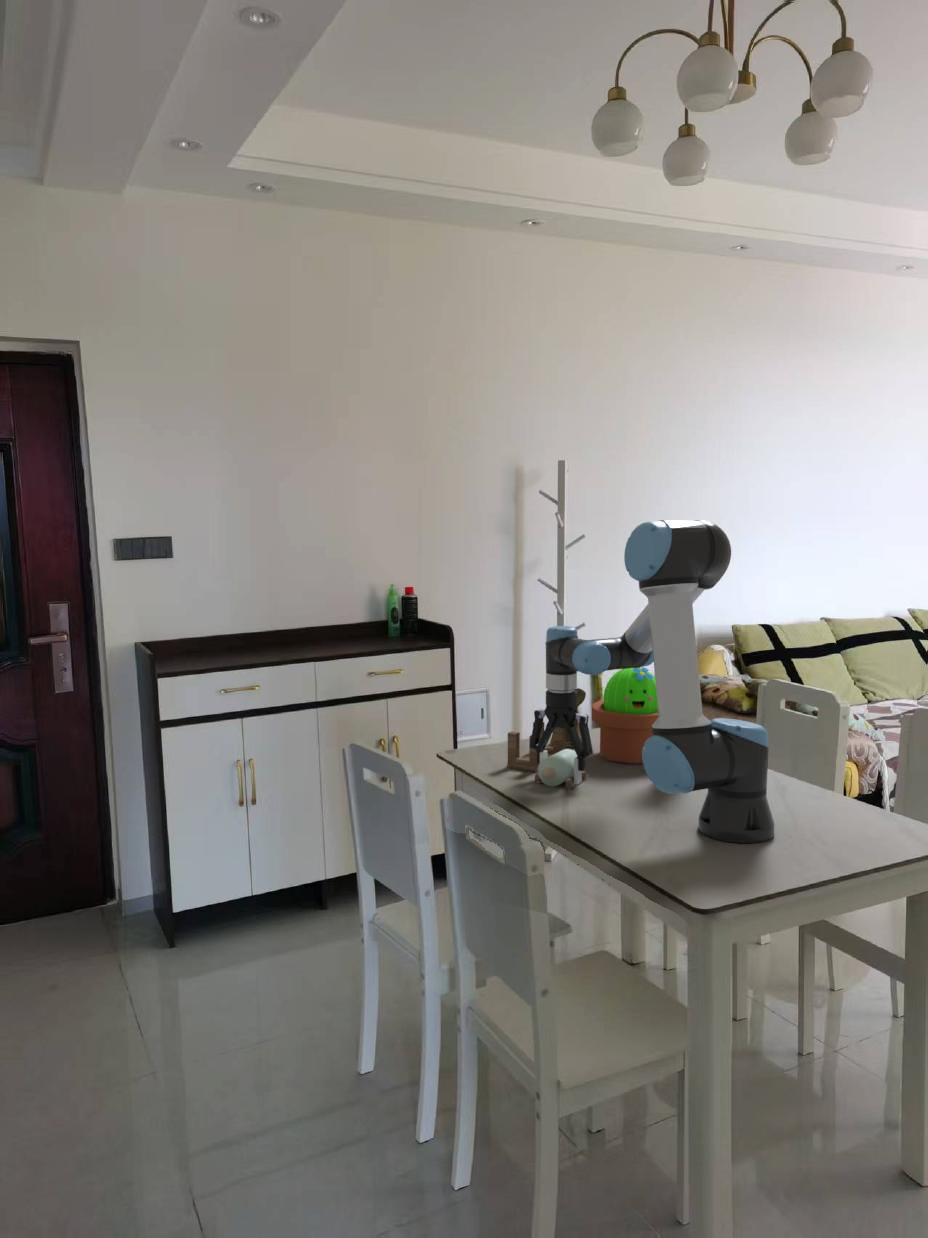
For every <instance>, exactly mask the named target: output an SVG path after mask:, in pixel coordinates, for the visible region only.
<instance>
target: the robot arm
mask: <svg viewBox="0 0 928 1238" xmlns="http://www.w3.org/2000/svg"><path fill="white" fill-rule="evenodd" d="M623 558H624V560H623V561H624V566H625V570H626V571H627V572H628V575H629V577H630V578H632V579H633V580H635V581H638V589H639V592H640V593H642V594H643V595H644V596H645V597H646V598H647V602H648V603H647V605H646V606H645V607H644V608H643V610H642V611H641V612H640V613H639V615H638V616H637V617H636V618H635V619H634V621H633V622H632V624H631V625H630V626H628V628H627V629H626V630H625V632H624V633H623V634H622V636H618V637H608V638H595V639H582V638H579V635H578V630H577V628H576V627H574V626H570V625H569V626H567V625H555V626H554V625H553V626H551V627H548V628H547V630H546V637H545V640H546V641H545V643H544V644H545V689H547V690H546V691H545V706H546V707H545V709H542V708H538V709H536V710H533V715H534V716H533V717H534V721H533V722H534V726H533V725H532V732H531V735H532V736H531V735H530V736H531V741H530V748H533V749H535V750H536V751H537V764H540V762H541V761H542V760H543V759H545V758H547V757H548V751H547V750H544V749H546V748H545V747H546V746H548V742H550V741H549V740H550V739H551V737H552V733H553V730H554V728H555V727H556V728H557V727H560V728H563V729H565V730H566V732H567V733H568V735H569V737H570V740H571V742H572V745H573V747H574V748H573V750H574V751H575V752H576V754H577V757H575V758H574V777H573V785H579V784H581V783H582V771H585V769H586V758H587V757H589V756H591V755H593V754H594V751H593V746H592V740H591V735H590V727H589V719H590V717H589V714H580V713H579V714H578V712H577V710H576V705H577V692H576V691H575V689H577V688H578V672H579V673H581V674H585V675H588V676H589V675H591V676H598V675H602V674H603V673H604V672H605V671H607V672H608V671H613V670H615V671H616V670H621V669H627V668H642V667H648V666H651V665H652V664H653V667H654V676H655V681H656V692H657V703H658V714H659V717H658V719H657V720H656V721H655V722H654V724H653V725H652V734H653V736H652V737H650V738H649V739H647V740H646V742H645V743H644V747H643V749H642V760H643V767H644V771H645V773H646V775H647V777H648V779H649V780H650V782H652V783H653V785H654V787H655V788H656V789H658V790H659V791H661V792H663V793H665V794H668V795H669V794H671V795H676V794H690V793H692V792H695V791H700V790H701V791H702V790H707V793H706V796H705V800H704V802H703V804H702V807H701V810H700V812H699V815H698V825H697V826H698V830H699V831H700V833H702V834H703V835H705V836H707V837H709V838H712V839H716V840H719V841H722V842H728V843H738V844H755V843H762V842H765V841H769V840H771V839H772V838H774V837H775V821H774V817H773V815H772V811H771V809H770V807H771V806H770V805H769V801H768V797H767V795H768V793H767V787H768V769H769V768H768V765H769V750H770V745H769V733H768V730H767V729H766V728H765V727H764V726H762V724H761V725H760V724H758V723H755V722H750V721H748V720H747V721H746V720H741V719H734V718H723V717H717V718H712V719H709V718H708V717H706V716H705V715H704V714H703V703H702V693H701V683H700V673H699V663H698V651H697V640H696V639H697V637H696V628H695V627H696V626H695V620H694V619H695V618H694V616H695V615H694V607H693V604H694V603H695V602H696V601H697V599H698V598H699V597H701V595H702V593H704V591H705V590H706V591H707V590H708V591H709V590H711V589H713V588H714V587H715V586H716V585H717V584H718V582H720V580H722V577H724V575H725V573H726V572H727V570H728V568H729V566H730V563H731V560H732V559H731V558H732V546H731V542H730V540H729V537H728V536H727V534H726V532H725V531H724V530H723V529H722V528H721V527H719V525H717V524H715V523H713V522H711V521H708V520H703V519H700V520H699V519H695V520H677V519H675V520H674V519H673V520H671V519H670V520H667V519H665V520H664V519H662V520H652V521H646V522H643V523H640V524H639V525H637V526H636V527H635V528H634V529H632V531H631V533H630V536H628V538H627V541H626V543H625V548H624V557H623ZM545 716H546V718H547V720H548V721H547V723H546V725H545V728H544V733H543V735H542V737H541V739H540V734H541V729H542V725H543V722H544V718H545ZM575 719H577V720H578V723H579V729H580V735H581V740H582V742H581V740H580V738H579V735H578V733H577V730H576V725H575V723H574V721H575ZM539 739H540V741H539ZM768 839H769V840H768Z"/></svg>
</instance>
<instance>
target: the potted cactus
mask: <svg viewBox="0 0 928 1238" xmlns="http://www.w3.org/2000/svg"><path fill="white" fill-rule="evenodd" d="M649 670H650V669H648V668H646V667H645V666H643V667H640V668H627V669H619V670H617V671H616V673H615V672H614V673H613V674H612V676H611V677H610V678H609V680H608V681H606V683H607V684H606V686H605V687H604V688H603V690H602V691H604V693H603V695H601V697H602V698H601V700H598V701H596V702H593V703H592V705H591V720H592V722H594V723H595V724H598V725H599V726H600V727H599V731H600V732H599V753H600V755H601V757H603V758H604V759H606V760H608V761H610V762H615V763H620V764H629V765H630V764H632V765H633V764H635V765H636V764H637V765H638V764H643V760H642V749H643V747H644V743H645V742H646V740H647V739H649V738H650V737H652V736H653V734H652V725H653V724H654V722H655V721H656V720H657V719H658V717H659V714H658V703H657V692H656V681H655V675H653V673H651V672H650V671H649Z"/></svg>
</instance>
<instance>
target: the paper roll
mask: <svg viewBox="0 0 928 1238" xmlns="http://www.w3.org/2000/svg"><path fill="white" fill-rule="evenodd" d="M575 757H577V754H576V752H575V750H574V749H572V748H565V749H564V750H562V751H560V752H558V753H556V754H554V755H552V756H549V757H547V758H545V759H543V760H542V761H541V762H540V764H539V766H538V772H537V773H538V775H539V777H540V779H541V781H542V782H541V783H543V784H544V785H545V786H548V785H549V786H548V787H553V786H554V787H557V786H559V785H561V784H563V783H564V782H565V783H566V779H568V778H569V779H573V778H574V758H575Z"/></svg>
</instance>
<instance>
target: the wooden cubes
mask: <svg viewBox="0 0 928 1238" xmlns="http://www.w3.org/2000/svg"><path fill="white" fill-rule="evenodd" d="M586 780H587V771H585V770H583V771H582V781H586ZM540 782H541V783H543V782H542V781H541V779H540V777H539V775H538V772H537V773H535V774H534V783H536V784H541V783H540ZM573 787H574V778H570V779H569V778H568V779H566V781H565V788H566V789H569V790H570V789H573Z"/></svg>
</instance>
